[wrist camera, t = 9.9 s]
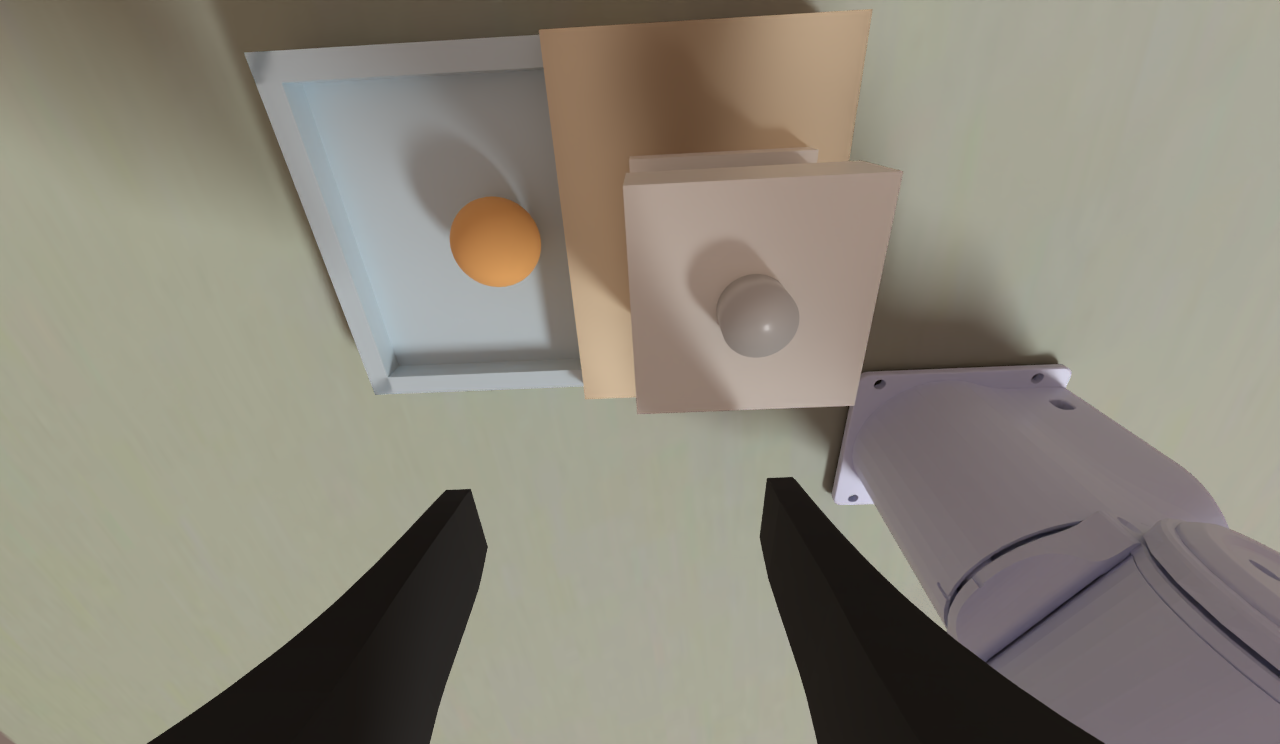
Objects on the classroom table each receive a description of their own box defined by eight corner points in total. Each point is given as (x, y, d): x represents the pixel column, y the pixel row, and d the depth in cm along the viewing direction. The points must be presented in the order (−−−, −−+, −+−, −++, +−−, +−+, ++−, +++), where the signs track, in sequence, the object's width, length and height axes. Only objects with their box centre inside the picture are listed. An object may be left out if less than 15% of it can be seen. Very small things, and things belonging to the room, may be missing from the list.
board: (833, 25, 15) (872, 9, 13) (792, 354, 21) (813, 390, 19) (556, 41, 16) (538, 29, 13) (592, 363, 21) (585, 399, 19)
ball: (488, 184, 17) (551, 189, 16) (506, 264, 19) (564, 275, 17) (418, 205, 15) (483, 213, 14) (445, 292, 17) (505, 307, 15)
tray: (556, 41, 16) (545, 34, 14) (592, 363, 21) (587, 386, 20) (287, 58, 16) (243, 52, 14) (396, 371, 22) (375, 394, 20)
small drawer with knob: (807, 146, 14) (924, 176, 8) (789, 312, 17) (867, 424, 11) (629, 156, 14) (621, 192, 9) (638, 319, 17) (636, 433, 11)
